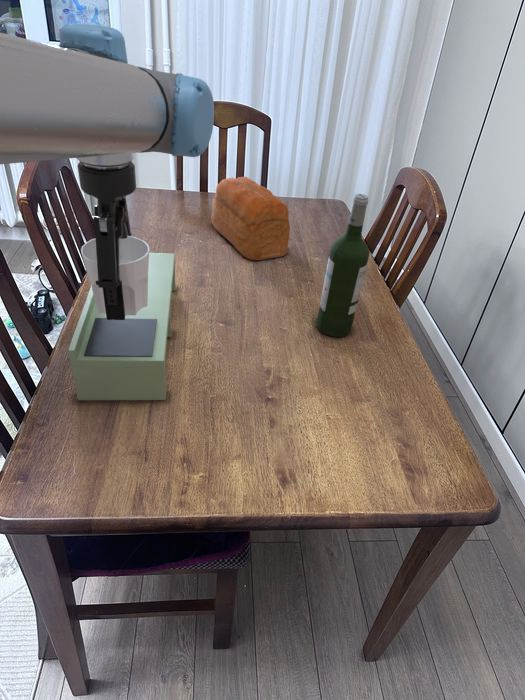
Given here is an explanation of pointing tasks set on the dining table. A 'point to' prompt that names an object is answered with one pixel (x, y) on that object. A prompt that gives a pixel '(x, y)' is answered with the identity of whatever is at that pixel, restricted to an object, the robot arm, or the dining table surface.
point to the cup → (122, 273)
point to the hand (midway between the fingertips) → (120, 300)
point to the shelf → (126, 343)
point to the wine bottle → (344, 275)
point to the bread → (251, 218)
